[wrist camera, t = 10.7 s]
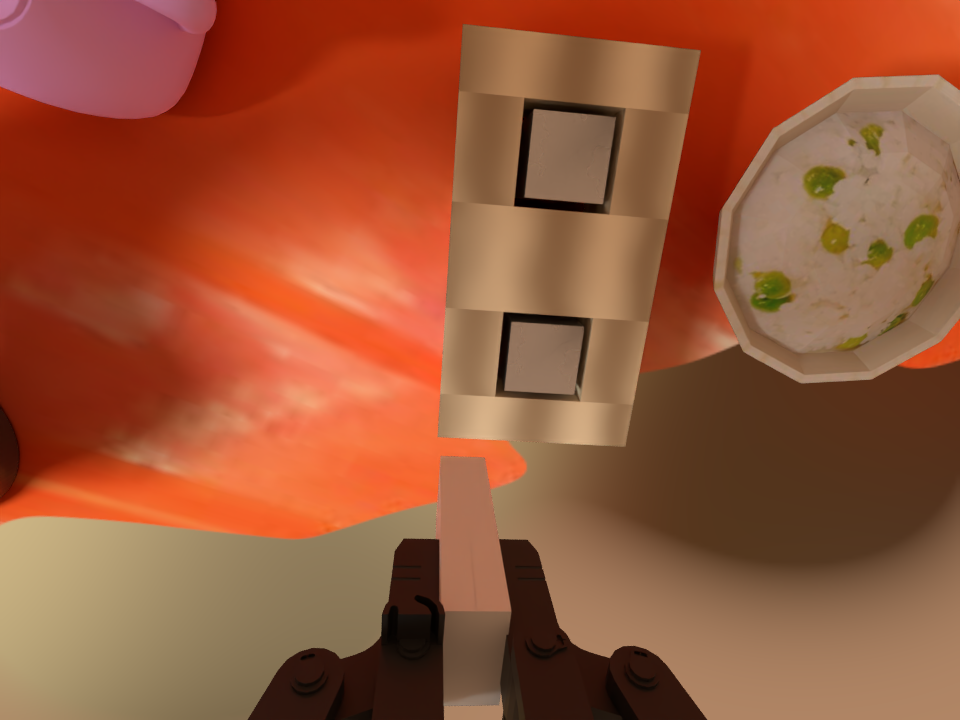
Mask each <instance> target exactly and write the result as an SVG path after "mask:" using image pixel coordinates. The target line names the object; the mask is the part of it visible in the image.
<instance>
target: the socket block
mask: <svg viewBox="0 0 960 720" xmlns="http://www.w3.org/2000/svg"><path fill="white" fill-rule="evenodd" d="M700 53H701V50H693V49H684V48H675V47H666V46H657V45H648V44H639V43H630V42H621V41H612V40H603V39H594V38H585V37H576V36H567V35H558V34H549V33H540V32H531V31H522V30H513V29H504V28H495V27H486V26H477V25H468V24H463V30H462V46H461V63H460V79H459V96H458V112H457V129H456V145H455V161H454V178H453V194H452V211H451V227H450V243H449V260H448V276H447V293H446V309H445V325H444V342H443V358H442V375H441V391H440V407H439V424H438V437H448V438H467V439H487V440H506V441H526V442H546V443H565V444H585V445H604V446H623V447H625V444H626V439H627V433H628V428H629V423H630V418H631V413H632V407H633V402H634V397H635V392H636V387H637V381H638V376H639V371H640V366H641V360H642V355H643V350H644V345H645V340H646V334H647V329H648V324H649V319H650V313H651V308H652V303H653V298H654V293H655V287H656V282H657V277H658V272H659V267H660V261H661V256H662V251H663V246H664V240H665V235H666V230H667V225H668V220H669V214H670V209H671V204H672V199H673V193H674V188H675V183H676V178H677V173H678V167H679V162H680V157H681V152H682V147H683V141H684V136H685V131H686V126H687V120H688V115H689V110H690V105H691V100H692V94H693V89H694V84H695V79H696V73H697V68H698V63H699V58H700ZM533 109H538V110H548V111H558V112H568V113H578V114H588V115H599V116H609V117H616V120H615V127H614V133H613V140H612V147H611V153H610V160H609V167H608V173H607V180H606V187H605V193H604V200H603V204H584V206H583V212H577V211H566V210H554V209H542V208H531V207H519V206H514V199H515V188H516V178H517V168H518V158H519V148H520V137H521V127H522V117H524V118H526V117H527V116H528V115H529V114H530V113H531V112H532V111H533ZM503 312H513V313H528V314H542V315H556V316H571V317H575V318H576V319H577V320H578V321H579V322H580V323H581V324H582V325H583V326H584V332H583V339H582V346H581V352H580V359H579V365H578V372H577V379H576V385H575V392H574V395H570V394H553V393H536V392H519V391H504V387H503V383H502V379H501V375H500V371H499V367H498V362H499V352H500V342H501V331H502V321H503Z"/></svg>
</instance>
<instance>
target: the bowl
mask: <svg viewBox="0 0 960 720" xmlns="http://www.w3.org/2000/svg"><path fill="white" fill-rule="evenodd" d="M713 286H714V291H715V293H716V295H717V297H718V299H719V302H720V304H721V306H722V308H723V310H724V312H725V314H726V316H727V318H728V320H729V323H730V325H731V327H732V329H733V331H734V333H735V335H736V337H737V339H738V341H739V343H740V346H741V348H742V349H743V352H744V353H747V354H748V355H750V356H752V357H754V358H755V359H757V360H759V361H761V362H763V363H765V364H767V365H768V366H770V367H772V368H774V369H775V370H777V371H779V372H781V373H783V374H785V375H786V376H788V377H790V378H792V379H794V380H796V381H798V382H800V383H815V382H832V381H851V380H868V379H873V378H875V377H876V376H878V375H880V374H882V373H884V372H886V371H888V370H889V369H891V368H893V367H895V366H897V365H899V364H900V363H902V362H904V361H906V360H908V359H910V358H911V357H913V356H915V355H917V354H919V353H921V352H922V351H924V350H926V349H928V348H930V347H932V346H933V345H935V344H937V343H939V342H941V341H942V340H943V338H944V337H945V336H946V335H947V333H948V332H949V331H950V330H951V329H952V327H953V326H954V325H955V324H956V322H957V321H958V320H959V319H960V90H958V89H957V88H956V87H954V86H953V85H952V84H950V83H949V82H948V81H946V80H945V79H944V78H942V77H941V76H940V75H915V76H888V77H860V78H852V79H851V80H849V81H848V82H846V83H845V84H843V85H841V86H840V87H838V88H837V89H835V90H833V91H832V92H830V93H829V94H827V95H826V96H824V97H822V98H821V99H819V100H818V101H816V102H814V103H813V104H811V105H810V106H808V107H807V108H805V109H803V110H802V111H800V112H799V113H797V114H795V115H794V116H792V117H791V118H789V119H788V120H786V121H784V122H783V123H781V124H780V125H778V126H776V127H775V128H773V129H772V131H771V132H770V134H769V136H768V137H767V139H766V140H765V142H764V143H763V145H762V146H761V148H760V149H759V151H758V152H757V154H756V156H755V157H754V159H753V160H752V162H751V163H750V165H749V167H748V168H747V170H746V171H745V173H744V174H743V176H742V178H741V179H740V181H739V182H738V184H737V185H736V187H735V189H734V190H733V192H732V193H731V195H730V196H729V198H728V200H727V201H726V203H725V204H724V206H723V208H722V209H721V211H720V212H719V221H718V231H717V240H716V250H715V259H714V269H713Z"/></svg>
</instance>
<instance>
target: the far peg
mask: <svg viewBox="0 0 960 720" xmlns="http://www.w3.org/2000/svg"><path fill="white" fill-rule="evenodd" d="M583 332H584V326H583V325H582V324H581V323H580V322H579V321H578V320H577V319H576V318H575V317H571V316H556V315H542V314H528V313H513V312H503V321H502V331H501V342H500V352H499V362H498V367H499V371H500V375H501V379H502V383H503V387H504V391H519V392H536V393H553V394H570V395H574V392H575V385H576V379H577V372H578V365H579V359H580V352H581V346H582V339H583Z"/></svg>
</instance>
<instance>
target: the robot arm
mask: <svg viewBox="0 0 960 720" xmlns="http://www.w3.org/2000/svg"><path fill="white" fill-rule="evenodd" d="M18 463H19V451H18V445H17V440H16V437H15V434H14V431H13V429H12V426H11V424H10V422H9V420H8V419H7V417H6V415H5V414H4V412H3V411H2V409H1V408H0V498H1V497H2V496H3V495H4V494H5V493H6V492H7V491H8V489H9V488H10V486H11V485H12V483H13V481H14V479H15V476H16V473H17V470H18ZM500 694H501V695H502V703H503V718H502V720H707V719H706V718H705V716H704V715H703V713H702V712H701V711H700V709H699V708H698V707H697V705H696V704H695V703H694V701H693V700H692V699H691V697H690V696H689V695H688V693H687V692H686V691H685V689H684V688H683V687H682V685H681V684H680V682H679V681H678V680H677V679H676V677H675V676H674V674H673V673H672V672H671V670H670V669H669V668H668V666H667V665H666V664H665V663H664V662H663V661H662V660H661V659H660V658H659V657H658V656H656V655H655V654H653V653H651V652H650V651H648V650H646V649H643V648H640V647H636V646H623V647H621V648H619V649H617V650H615V651H614V653H613V655H612V656H611V658H607V657H604V656H600V655H597V654H594V653H590V652H588V651H585V650H583V649H580V648H579V647H577V646H576V645H574V644H572V643H571V641H570V639H569V638H568V636H567V634H566V633H565V632H564V631H563V630H562V629H560V628H559V625H558V623H557V619H556V615H555V612H554V608H553V605H552V601H551V597H550V594H549V590H548V586H547V583H546V581H545V576H544V572H543V570H542V565H541V561H540V558H539V554H538V552H537V550H536V549H535V548H534V547H533V546H532V545H531V543H530V542H529V541H528V540H508V539H507V540H506V539H499V537H498V531H497V526H496V520H495V514H494V508H493V503H492V497H491V491H490V485H489V479H488V473H487V468H486V462H485V458H482V457H455V456H441V458H440V472H439V487H438V502H437V518H436V539H403V541H402V542H401V544H400V545H399V546H398V547H397V549H396V550H395V554H394V562H393V570H392V578H391V586H390V594H389V602H388V603H387V604H386V605H385V608H384V610H383V613H382V632H381V637H380V639H379V640H378V641H377V642H376V643H375V644H374V645H373V646H371V647H370V648H368V649H367V650H365V651H363V652H361V653H358V654H356V655H353V656H350V657H346V658H343V659H340V658H339V657H338V656H337V655H336V654H335V653H334V652H332V651H329V650H327V649H324V648H311V649H308V650H304V651H301V652H299V653H297V654H295V655H294V656H292V657H290V658H289V659H288V660H287V661H286V662H285V663H284V664H283V665H282V666H281V667H280V669H279V670H278V671H277V673H276V675H275V676H274V678H273V679H272V681H271V683H270V685H269V686H268V688H267V689H266V691H265V693H264V694H263V696H262V697H261V699H260V701H259V702H258V704H257V705H256V707H255V709H254V711H253V712H252V714H251V715H250V717H249V718H248V720H444V706H475V705H499V702H500Z"/></svg>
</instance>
